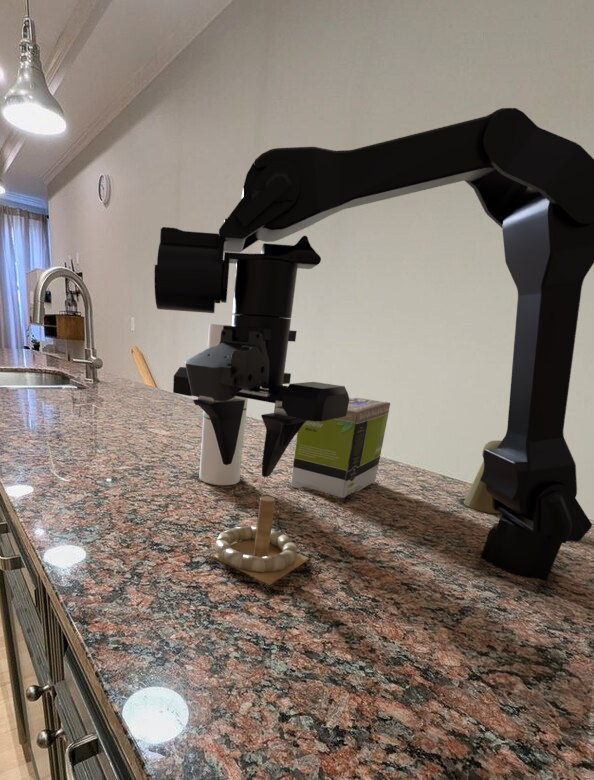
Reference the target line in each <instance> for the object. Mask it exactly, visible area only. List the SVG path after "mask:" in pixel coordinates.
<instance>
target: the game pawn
mask: <svg viewBox="0 0 594 780" xmlns="http://www.w3.org/2000/svg"><path fill="white" fill-rule="evenodd" d="M501 441H502V440H490V441H488V442H486V443H485V445H484V446H483V449H482V451H481V452H482V457H483V453H484V450H485V449H497V447H498V446H499V444H500V443H501ZM483 471H484V460H483V461H482V463H481V465H480V467H479V468H478V472H477V473H476V475H475V478H474V479H473V482H472V484H471V486H470V488H469V490H468V493H467V494H466V497H465V499H464V501H463V504H464V505H465V506H467V507H468V508H470V509H472V510H476V511H479V512H483V513H489V514H501V513H500V512H498V511H496V510H494V509H493V504H492V496H491V495H490V494H489V493H488V491H487V489H486V484H485V483H483V482H482V481H480V479H481V476H482V474H483Z"/></svg>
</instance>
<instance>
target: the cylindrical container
mask: <svg viewBox="0 0 594 780" xmlns="http://www.w3.org/2000/svg"><path fill="white" fill-rule="evenodd" d="M223 326H232V324H231V325H229V324H217V323H216V324H215V323H209V324H208V331H207V333H208V334H207V348H206V349H208V348H210V347H214V346H216V345H219V343H220V340H221V331H222V330H223ZM234 398H236V399H242V400H245V403H244V408H243V414H242V419H241V424H240V429H239V434H238V439H237V444H236V449H235V453H234V456H233V460H232V463H231V464H229V465H224V464H223V461H222V458H221V454H220V450H219V446H218V443H217V439H216V435H215V432H214V428H213V425H212V423H211V420H210V417H209V416H208V414H207V413H206V412H205V411H204V410H203V409H202V410H203V411H202V412H203V413H202V427H201V444H200V445H201V446H200V457H199V458H200V460H199V475H198V477H199V480H200V481H202V482H204V483H206V484H209V485H214V486H232V485H236V484H238V483H239V482H240V479H241V470H242V458H243V448H244V439H245V438H244V437H245V429H246V420H247V410H248V409H247V408H248V399H249V398H243V397H238V396H235V397H234Z"/></svg>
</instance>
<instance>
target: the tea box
mask: <svg viewBox="0 0 594 780" xmlns="http://www.w3.org/2000/svg"><path fill="white" fill-rule="evenodd" d="M390 407H391V402H387V401H381V400H376V399H375V400H374V399H369V398H362V397H354V396H349V404H348V410H347V415H346V416H344V417H340V418H335V419H330V420H326V421H306V422H305V423H304V424H303V425H302V427H301V428H300V429H299V431H298V432H297V433H296V438H295V449H294V454H293V463H292V471H291V480H290V486H291V487H292V488H295V489H297V490H298V489H300V488H303V487H304V488H307V489H311V490H314V491H318V492H322V493H325V494H329V495H332V496H335V497H339V498H341V499H343V498H344V499H345V498H346V497H347V496H349V495H351V494H353V493H355V492H359V491H361V490H363V489H364V488H366V487H368V486H369V485H371V484H373V483H375V482H376V480H377V475H378V469H379V464H380V458H381V455H382V449H383V444H384V439H385V434H386V429H387V422H388V417H389V413H390Z"/></svg>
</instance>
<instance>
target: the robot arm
mask: <svg viewBox="0 0 594 780" xmlns="http://www.w3.org/2000/svg"><path fill="white" fill-rule="evenodd" d="M460 182H465V183H466V184H468V185H469V186H470V187H471V188H472V189H473V191H474V193H475V195H476V197H477V199H478V201H479V202H480V205H481V207H482V209H483V211H484V212H485V214H486V215H487V217H489V218H490V219H491V220H492V221H494V223H496V225H498V226H499V227H500V228H501V229H502V230H501V231H502V239H503V240H502V241H503V249H504V261H505V264H506V267H507V269H508V271H509V273H510V276H511V278H512V280H513V283H514V285H515V287H516V291H517V303H516V315H515V316H516V317H515V330H514V341H513V354H512V365H511V379H510V390H509V391H510V392H509V403H508V415H507V426H506V427H507V428H506V433H505V435H504V437H503V439H502V440H500V441H501V443H500V444H499V446H498V447H497V449H485V450H484V453H483V456H482V458H483V459H482V460H483V461H484V471H483V474H482V476H481V479H480V481H482V482H483V483H485V484H486V489H487V491H488V493H489V494H490V495H491V496H492V504H493V509H494V510H496V511H498V512H500V513H499V514H502V515H501V516H500V518H499V520H498V522H495V523H494V524H492V526H491V527H490V528H489V531H488V534H487V536H486V539H485V543H484V546H483V549H482V552H481V554H480V559H481V560H484V561H485V562H487V563H490V564H492V565H494V566H495V567H496V568H498V569H500V570H501V571H503V572H506V573H509V574H511V575H514V576H517V577H521V578H527V579H538V580H541V581H548V578H549V576H550V573H551V571H552V569H553V566H554V564H555V562H556V559H557V556H558V554H559V552H560V549H561V547H562V544H566V543H568V542H580V541H581V540H582V539H583V538H584V537H585V535H586V534H588V532H589V531H590V530H591V528H592V527H593V524H592V522H591V521H590V519H589V517H588V516H587V514H586V512H585V511H584V509H583V508H582V506H581V505H580V503H579V501H578V499H576V497H577V494H578V481H577V465H576V461H575V459H574V457H573V455H572V453H571V452H572V451H571V450H570V448H569V445H568V443H567V441H566V438H565V436H564V430H565V429H564V428H565V421H566V413H567V405H568V399H569V398H568V397H569V389H570V384H571V383H570V382H571V375H572V367H573V359H574V351H575V343H576V337H577V336H576V335H577V328H578V320H579V312H580V307H581V305H580V304H581V299H582V298H581V297H582V290H583V284H584V281H585V279H586V277H587V275H588V273H589V271H591V268H592V267H593V266H594V157H592V156H591V154H590V153H588V151H587V150H586V149H584V147H583V146H581V145H580V144H579V143H578V142H575V141H573V140H570V139H568V138H565V137H563V136H561V135H558V134H556V133H553V132H551V131H549V130H546V129H544V128H542V127H539V126H538V125H537V124H535V122H534V121H533V120H532V119H531V118H530V117H529V116H527V114H526V113H525V112H524V111H522V110H520V109H519V108H517V107H502V108H499V109H497V110H495V111H493V112H492V113H489V114H487V115H485V116H481V117H477V118H472V119H469V120H465V121H461V122H457V123H453V124H449V125H445V126H441V127H438V128H432V129H429V130H426V131H425V130H424V131H421V132H418V133H414V134H410V135H406V136H401V137H398V138H394V139H390V140H386V141H382V142H377V143H374V144H370V145H366V146H362V147H358V148H354V149H347V150H346V149H345V150H344V149H343V150H342V149H341V150H334V149H328V148H323V147H318V146H298V147H296V146H295V147H294V146H293V147H277V148H271V149H269V150H266V151H264V152H263V153H261V154H260V155H259V156H258V157H256V158H255V159H254V161H253V163H252V164H251V166H250V168H249V169H248V171H247V173H246V175H245V179H244V183H243V186H242V194H241V199H240V201H239V202H238V203H237V204H236V206H235V207H234V209H233V210H232V211H231V213H230V214H229V215H228V217H227V218H224V219H223V224H221V226H220V228H219V229H218V233H214V232H202V231H189V230H188V231H187V230H182V229H179V228H177V227H167V226H162V227H161V228H160V229H159V230H160V231H159V232H160V233H159V234H160V235H159V236H160V237H159V238H160V239H159V244H158V249H157V259H156V264H154V298H155V305H156V309H157V310H164V311H175V312H176V311H177V312H190V313H191V312H192V313H204V314H205V313H206V314H215V311H216V304H222V303H224V304H225V303H226V304H227V300H228V287H229V272H230V264H235V266H236V267H235V278H234V292H233V305H232V317H231V318H232V319H231V326H223V330H222V331H221V340H220V343H219V345H216V346H214V347H210V348H208V349H207V348H206V349H204V350H202V351H200V352H199V353H197V354H195V355H193V356H192V357H189V358H188V359H186V360H185V362H184V364H185V366H179V368H178V369H177V371H176V372H175V373H174V375H173V383H172V384H173V385H172V386H173V387H172V389H173V390H172V393H173V394H177V395H184V396H187V397H196V398H197V399H193V400H192V403H193V404H194V405H195V406H198V407H200V409H202V410H204V411H205V412H206V413H207V414H208V416H209V417H210V420H211V423H212V425H213V428H214V432H215V435H216V439H217V443H218V446H219V450H220V454H221V458H222V461H223V464H224V465H229V464H231V463H232V460H233V456H234V453H235V449H236V444H237V439H238V434H239V429H240V424H241V419H242V414H243V408H244V403H245V400H242V399H236V398H234V397H235V396H238V397H243V398H248V399H249V400H255V401H260V402H265V403H270V404H271V403H272V404H274V410H273V412H270V413H264V414H261V419H262V422H263V424H264V426H265V437H264V444H263V445H264V446H263V453H262V460H261V477H263V478H267V477H270V476H271V475H272V473H273V472H274V470H275V468H276V467H277V466H278V463H279V461H280V460H281V458H282V457H283V455H284V453H285V452H286V450H287V448H288V446H289V445H290V443H291V442H292V441H293V439H294V438H295V436H297V432H298V431H299V429H300V428H301V427H302V425H303V424H304V423H305V422H306V421H326V420H330V419H335V418H340V417H344V416H346V415H347V410H348V404H349V397H350V396H349V393H348V391H347V388H346V387H345V386H344V385H338V384H333V383H331V384H330V383H324V382H317V381H308V382H307V381H306V382H296V383H295V382H293V383H291V378H292V373H291V372H285V370H286V363H287V354H288V346H289V342H296V340H297V330H291V325H292V324H291V323H292V314H293V305H294V298H295V291H296V283H297V275H298V269H302V270H303V269H304V270H312V269H313V268H316V267H317V266H319V264H320V263H321V262H322V258H321V256H320V255H319V254H318V253H317V251H316V250H315V249H314V248H313V246H312V245H311V243H310V242H309V237H308V236H307V235H303V236H302V237H301V238H300V239H299V240H297V242H296V243H295V244H294V245H293V244H281V243H274V242H277V241H280V240H282V239H284V238H286V237H289V236H291V235H293V234H295V233H298V232H300V231H302V230H304V229H307V228H309V227H311V226H313V225H315V224H316V223H318V222H320V221H322V220H324V219H326V218H328V217H330V216H332V215H334V214H337V213H339V212H341V211H343V210H346V209H351V208H356V207H358V206H363V205H364V206H365V205H368V204H372V203H376V202H380V201H381V202H382V201H385V200H389V199H393V198H397V197H401V196H406V195H410V194H414V193H417V192H422V191H426V190H432V189H434V188H439V187H443V186H447V185H452V184H455V183H460ZM259 241H261V242H265V243H262V247H261V251H260V253H247V252H246V253H244V252H243V251H245V250H246V249H248V248H249V247H251V246H252V245H254V244H255V243H257V242H259ZM271 242H272V243H271ZM242 252H243V253H242Z"/></svg>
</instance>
